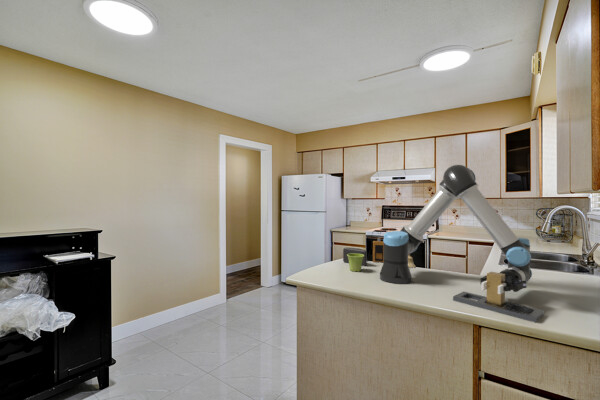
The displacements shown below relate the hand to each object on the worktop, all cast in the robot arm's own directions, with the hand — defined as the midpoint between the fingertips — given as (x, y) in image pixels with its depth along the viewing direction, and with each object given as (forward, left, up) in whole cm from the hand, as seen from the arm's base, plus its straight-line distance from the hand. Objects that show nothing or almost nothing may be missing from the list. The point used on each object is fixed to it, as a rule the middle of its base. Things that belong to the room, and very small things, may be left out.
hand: (490, 288), depth 104 cm
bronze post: (0, +5, -6) cm, 8 cm away
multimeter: (-76, +38, -8) cm, 86 cm away
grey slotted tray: (0, +5, -8) cm, 10 cm away
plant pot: (-68, +6, -8) cm, 69 cm away
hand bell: (-56, +40, -8) cm, 70 cm away
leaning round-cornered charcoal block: (-79, +18, -8) cm, 81 cm away
